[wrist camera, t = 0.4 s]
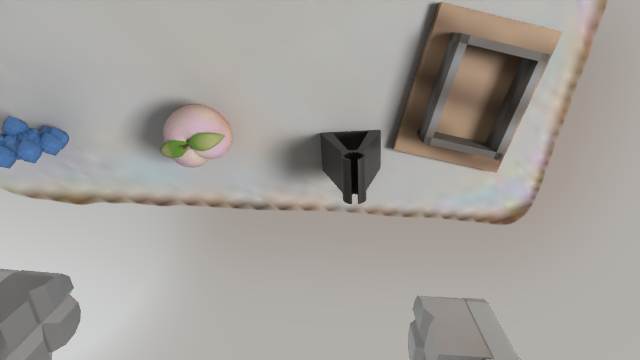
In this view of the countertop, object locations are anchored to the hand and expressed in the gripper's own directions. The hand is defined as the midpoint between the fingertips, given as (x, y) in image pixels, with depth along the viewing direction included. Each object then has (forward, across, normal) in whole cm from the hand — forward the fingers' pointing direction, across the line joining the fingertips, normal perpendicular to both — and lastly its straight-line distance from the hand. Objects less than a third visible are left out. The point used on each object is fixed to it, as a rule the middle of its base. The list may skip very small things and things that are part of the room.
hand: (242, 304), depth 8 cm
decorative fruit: (+45, +17, +8) cm, 49 cm away
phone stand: (+45, -5, +11) cm, 47 cm away
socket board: (+45, -21, +2) cm, 49 cm away
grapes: (+45, +41, +10) cm, 62 cm away
